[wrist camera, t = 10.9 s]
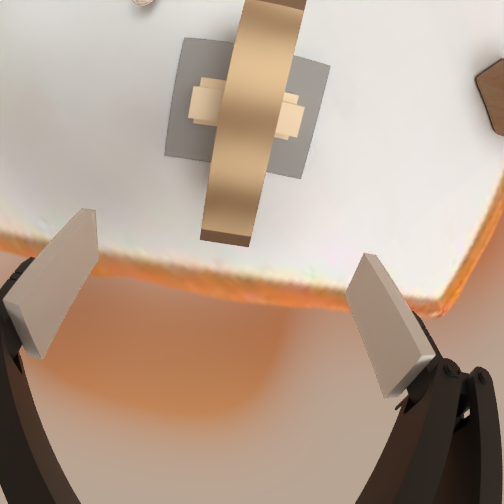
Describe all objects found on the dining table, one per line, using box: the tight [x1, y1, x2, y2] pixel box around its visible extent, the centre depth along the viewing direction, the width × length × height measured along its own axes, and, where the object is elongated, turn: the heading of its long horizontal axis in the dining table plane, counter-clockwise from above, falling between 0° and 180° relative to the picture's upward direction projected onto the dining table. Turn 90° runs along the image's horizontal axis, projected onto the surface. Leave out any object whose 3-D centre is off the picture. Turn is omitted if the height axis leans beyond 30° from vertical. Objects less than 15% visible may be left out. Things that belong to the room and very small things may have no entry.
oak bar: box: [200, 0, 306, 247], centre depth 21 cm, size 20×4×6 cm, turn 169°
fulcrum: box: [164, 38, 330, 179], centre depth 27 cm, size 14×16×7 cm
